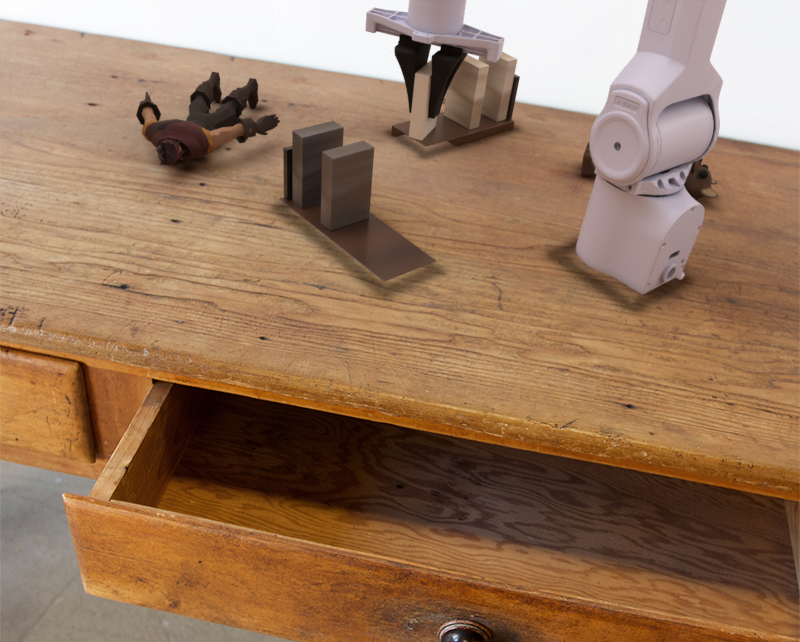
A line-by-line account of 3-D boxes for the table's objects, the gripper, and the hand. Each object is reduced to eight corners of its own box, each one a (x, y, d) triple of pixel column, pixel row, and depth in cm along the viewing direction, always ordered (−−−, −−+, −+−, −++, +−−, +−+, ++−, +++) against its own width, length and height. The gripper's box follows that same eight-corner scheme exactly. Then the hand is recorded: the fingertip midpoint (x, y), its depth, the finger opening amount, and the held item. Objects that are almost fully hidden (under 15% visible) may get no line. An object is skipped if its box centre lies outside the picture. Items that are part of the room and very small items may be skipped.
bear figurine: (597, 113, 89) (727, 128, 86) (590, 148, 92) (717, 165, 89) (573, 178, 76) (726, 200, 73) (567, 217, 79) (713, 239, 76)
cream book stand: (513, 128, 91) (526, 60, 86) (425, 154, 84) (434, 81, 78) (478, 110, 94) (489, 42, 89) (390, 133, 87) (397, 61, 82)
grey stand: (435, 270, 68) (448, 187, 62) (383, 291, 65) (391, 206, 59) (329, 192, 76) (332, 113, 70) (278, 207, 73) (277, 126, 67)
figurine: (174, 101, 90) (91, 166, 75) (171, 63, 87) (84, 123, 72) (297, 123, 89) (238, 193, 73) (298, 85, 86) (237, 150, 71)
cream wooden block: (436, 126, 87) (444, 63, 82) (421, 141, 84) (429, 76, 79) (422, 122, 88) (430, 60, 83) (408, 137, 84) (415, 73, 80)
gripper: (356, -29, 74) (349, 109, 83) (498, 3, 71) (474, 142, 80) (385, -44, 79) (375, 88, 88) (519, -15, 76) (494, 118, 85)
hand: (424, 112), depth 84 cm, fingers closed on cream wooden block, 2 cm apart
